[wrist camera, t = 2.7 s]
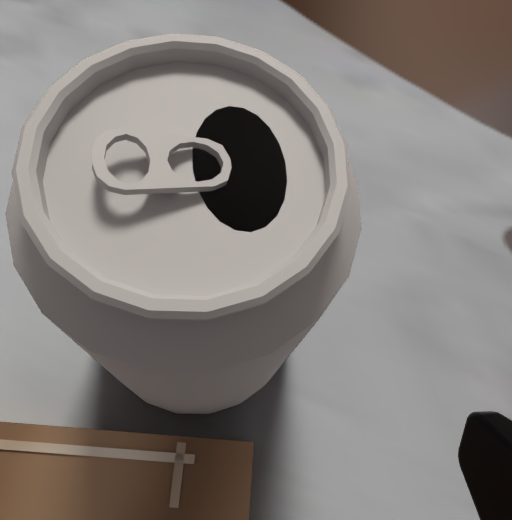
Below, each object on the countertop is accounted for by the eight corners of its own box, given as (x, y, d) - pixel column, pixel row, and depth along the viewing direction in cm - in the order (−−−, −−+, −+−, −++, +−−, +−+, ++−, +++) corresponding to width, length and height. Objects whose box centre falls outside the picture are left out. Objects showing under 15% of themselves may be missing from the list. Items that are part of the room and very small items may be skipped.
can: (304, 400, 19) (439, 322, 8) (109, 431, 18) (-49, 390, 7) (271, 230, 22) (340, -6, 11) (100, 248, 21) (-23, 6, 10)
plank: (250, 443, 18) (254, 441, 17) (239, 601, 16) (242, 615, 15) (-194, 407, 17) (-231, 403, 16) (-262, 571, 15) (-311, 582, 14)
